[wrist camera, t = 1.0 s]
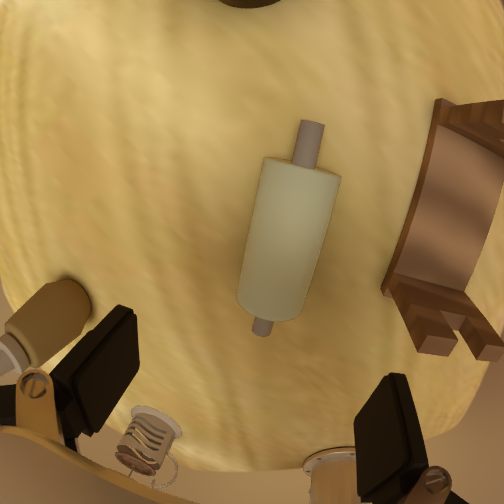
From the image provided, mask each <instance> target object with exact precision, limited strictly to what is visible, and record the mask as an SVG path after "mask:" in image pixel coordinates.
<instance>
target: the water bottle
mask: <svg viewBox="0 0 504 504" xmlns="http://www.w3.org/2000/svg"><path fill="white" fill-rule="evenodd" d="M219 1H220V2H222V3H224V4H226V5H229V6H233V7H238V8H258V7H263V6H267V5H270V4H273V3H275V2H278V1H279V0H219Z"/></svg>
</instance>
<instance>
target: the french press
mask: <svg viewBox="0 0 504 504" xmlns="http://www.w3.org/2000/svg"><path fill="white" fill-rule="evenodd" d="M131 414H132V417H133V419H132V421H131V423H130V425H129V426H128V428H127V430H126V431H125V433H124V435H123V437H122V438H121V440H120V442H119V444H118V445H117V449H118V451H119V452H116V453H115V456H116V458H117V459H118V460H119V461H120V462H121V463H122V464H124V465H126V466H127V467H129V468H130V469H132V470H131V472H130V474H129V476H126V475H124V474H122V473H119V472H117V471H115V470H112V469H110V470H112V471H114V472H116V473H118V474H120V475H123V476H125V477H127V478H129V479H132V478H130V475H131V473H132V471H133V470H134V471H135V472H139V473H140V474H144V475H147V476H152V475H153V476H154V475H155V474H156V472H155V470H159V469H160V467H161V464H162V462H163V460H164V458H165V456H166V454H167V456H168V457H169V458H170V459H171V460H172V461H173V463H174V464H175V468H176V473H175V475H174V477H173V479H172V480H171V481H170V482H168V483H167V484H164V485H161V486H154V484H155V479H154V480H153V481H152V488H154V487H163V486H166V485H167V486H166V487H163V488H154V489H156V490H160V489H165V488H167V487H169V486H170V485H172V483H174V481H175V479H176V476H177V471H178V464H177V461H176V459H175V458H174V456H173V455H172V454H171V453H170V452H169V450H170V448H171V445H172V443H173V441H174V439H175V438H179V437H180V436H181V434H182V432H181V428H180V427H179V426H178V424H177V423H176V422H175V421H174V420H173V419H171V418H170V417H169V416H167V415H166V414H164V413H162V412H160V411H158V410H156V409H153V408H150V407H146V406H136V407H133V408H132V410H131ZM135 428H137V429H138V430H140V432H141V433H142V434H143V435H144V436H145V437H146V438H147V439H148V440H149V441H148V440H146V439H145V438H143V437H142V436H141V435H140V434H139V433H138V432H137V431H135ZM132 433H134V434H135V435H136V436H137V437H138V438H139V439H140V440H141V441H143V443H144V444H145V445H146V446H147V447H148V448H150V449H151V450H150V449H148V448H145V447H144V446H143V445H142V444H141V443H140V442H139V441H138V440H137V439H136V438H135V437H134V436H133V435H132ZM128 446H130V447H132V448H134V449H135V450H136V451H137V452H138V453H139V454H140V455H141V456H142V458H144V459H145V460H147V461H156V462H157V463H156V464H148V463H146V462H145V461H143V460H142V459H140V458H139V457H138V456H137V455H136V454H135V453H134V452H133V451H132V450H131V449H130V448H129V447H128ZM152 450H153V451H152ZM156 451H158V452H156ZM142 452H144V453H145V454H147V455H148V456H150V457H151V458H148V457H146V456H145V455H143V453H142ZM168 453H169V454H170V455H171V456H172V457H173V458H174V460H175V462H176V463H175V462H174V460H173V459H172V458H171V457H170V456H169V455H168ZM108 469H109V468H108ZM132 480H134V479H132ZM134 481H135V480H134ZM136 482H137V481H136ZM169 483H170V484H169ZM168 484H169V485H168Z"/></svg>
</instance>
